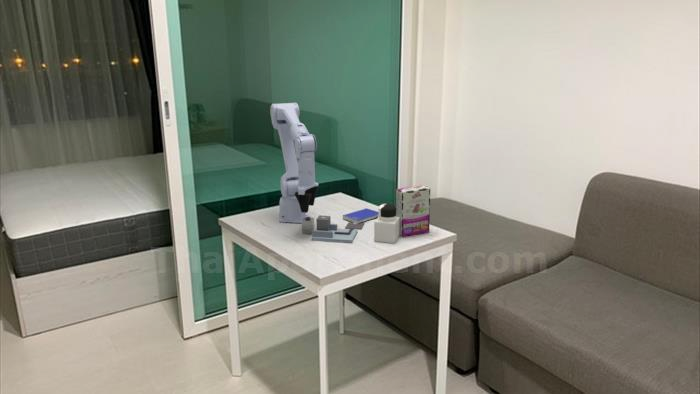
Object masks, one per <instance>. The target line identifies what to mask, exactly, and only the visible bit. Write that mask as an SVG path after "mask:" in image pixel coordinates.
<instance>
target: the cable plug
mask: <svg viewBox="0 0 700 394" xmlns="http://www.w3.org/2000/svg"><path fill="white" fill-rule="evenodd" d="M312 230H316V229H315V217H311V216H309V217H304V219H303V220H302V223H301V232H302V235H311V236H312Z"/></svg>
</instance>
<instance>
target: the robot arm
mask: <svg viewBox="0 0 700 394" xmlns="http://www.w3.org/2000/svg"><path fill="white" fill-rule="evenodd" d="M269 110H270V111H269V112H270V114H269V115H270V117H271V120H270V121H271V125H272V127H273V129H275V130H276V131H278V135H279V141H280V145H281V146H280V147H281V151H282V155H283V162H284V166H285V173H283V175H281V177H280V181H279V182H280V193H281V195H282V196H281V197H280V199H279V204H278V205H279V207H278V208H279V222H280V223H290V224H291V223H293V224H295V223H296V224H302V220H303V219H304V217H310V215H309V214H307V213H308V212H309V208H310V206H314V205H315V202H316V201H315V199H316V195H317V191H318V189H319V187H320V185H319V182H316V168H315V167H316V165H315V164H316V163H315V152H317V148H318V142H317V139H316V136H315V134H312V133H309V130H308V128H307V127H306V125H305V124H304V123H302V122H301V121H300V119H299V118H300V113H301V112H300V107H299V104H298V103H297V102H295V101H294V102H286V103H282V102H281V103H272V104H271V105H270V109H269Z"/></svg>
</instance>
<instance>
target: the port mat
mask: <svg viewBox="0 0 700 394" xmlns="http://www.w3.org/2000/svg"><path fill="white" fill-rule="evenodd" d="M364 226H365V222H361V223H354V222H351V221H349V222H348V223H347V224H346V225H345V228H344V229H350V228H354V230H360V231H361V230H363V227H364Z"/></svg>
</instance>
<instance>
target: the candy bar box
mask: <svg viewBox="0 0 700 394" xmlns="http://www.w3.org/2000/svg"><path fill="white" fill-rule="evenodd" d="M395 206H396V217H400V233H399V237H401V238H407V237H411V236H416V235H422V234H427V233H430V223H431V222H430V221H431V220H430V218H431V217H430V215H431V213H430V211H431V188H430V187H429V186H426V185H425V184H421V185H420V184H419V185H413V186H407V187H401V188H396V189H395Z"/></svg>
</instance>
